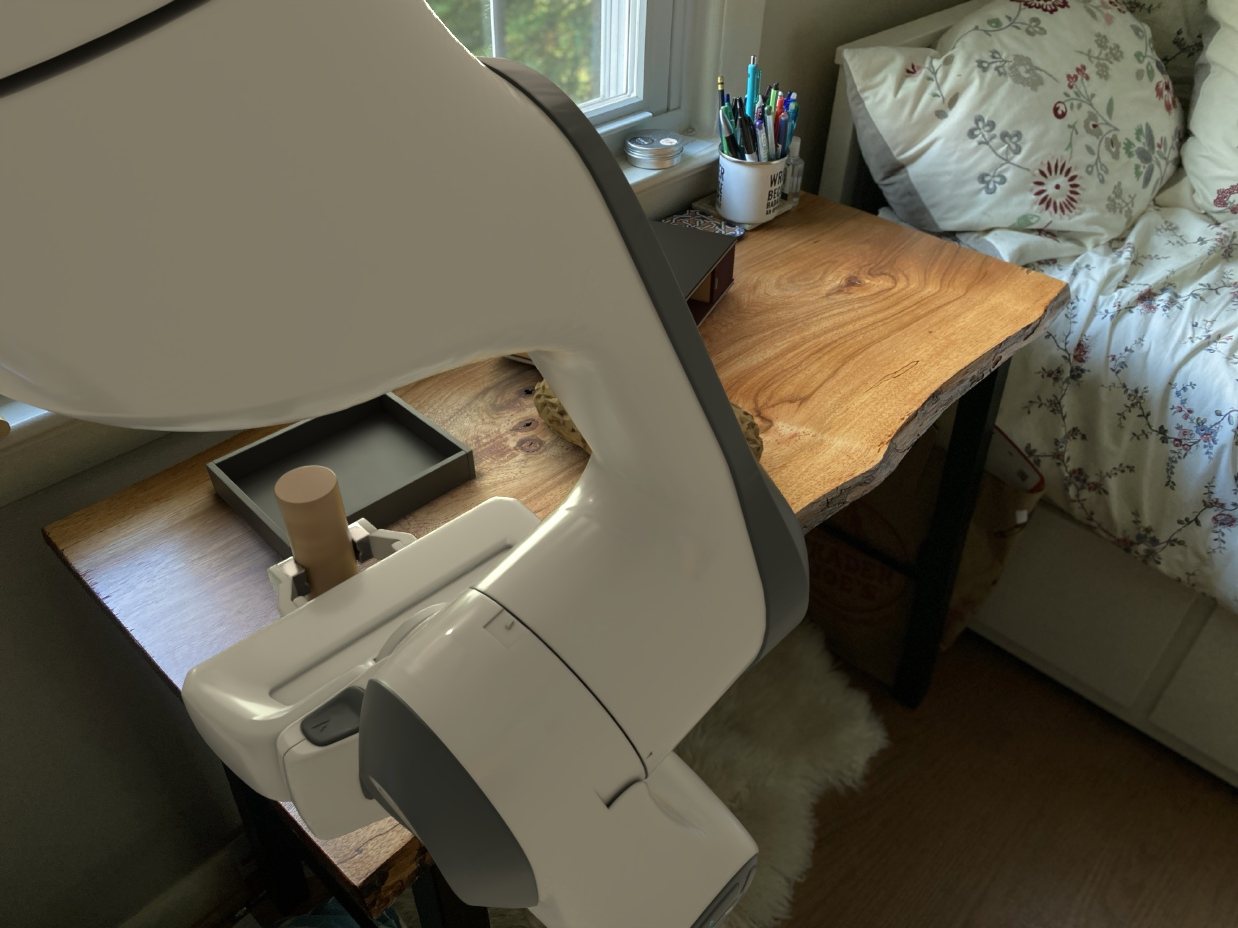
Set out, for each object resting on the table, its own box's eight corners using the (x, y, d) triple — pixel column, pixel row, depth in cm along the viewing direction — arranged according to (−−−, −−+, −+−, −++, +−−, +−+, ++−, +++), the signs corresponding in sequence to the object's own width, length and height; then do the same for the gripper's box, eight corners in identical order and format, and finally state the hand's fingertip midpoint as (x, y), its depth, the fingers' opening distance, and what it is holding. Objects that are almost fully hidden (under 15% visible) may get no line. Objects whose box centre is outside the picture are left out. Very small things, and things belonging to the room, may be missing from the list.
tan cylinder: (331, 683, 54) (285, 529, 46) (288, 636, 56) (238, 483, 49) (404, 637, 56) (372, 484, 49) (360, 594, 59) (323, 443, 52)
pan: (298, 576, 72) (289, 547, 70) (214, 491, 80) (205, 464, 78) (476, 477, 81) (472, 449, 79) (385, 410, 89) (380, 384, 87)
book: (733, 290, 108) (738, 236, 104) (646, 402, 90) (647, 343, 86) (599, 261, 114) (598, 209, 109) (492, 361, 96) (486, 304, 92)
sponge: (523, 448, 86) (674, 518, 73) (520, 367, 83) (676, 424, 70) (629, 416, 94) (783, 474, 81) (629, 341, 91) (789, 388, 78)
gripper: (618, 543, 49) (459, 431, 57) (255, 785, 38) (119, 603, 45) (618, 624, 53) (469, 509, 61) (289, 865, 42) (159, 686, 49)
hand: (317, 551), depth 53 cm, fingers closed on tan cylinder, 3 cm apart
